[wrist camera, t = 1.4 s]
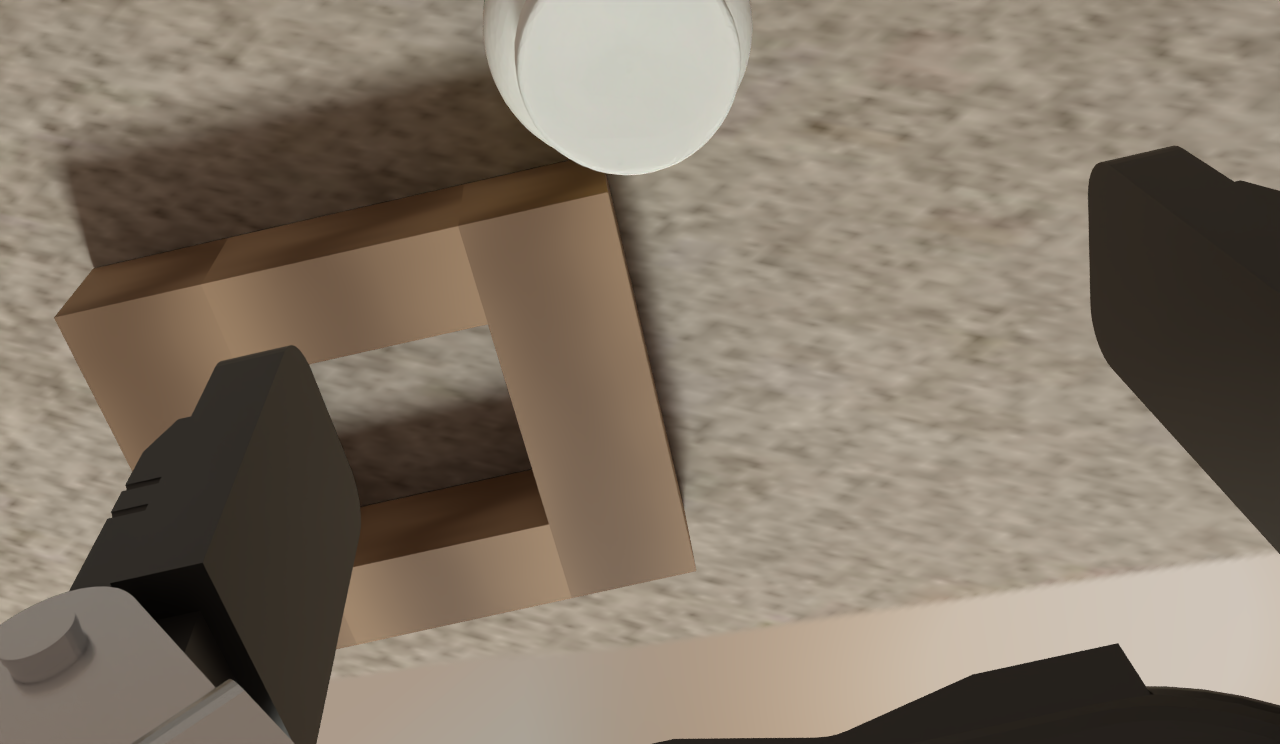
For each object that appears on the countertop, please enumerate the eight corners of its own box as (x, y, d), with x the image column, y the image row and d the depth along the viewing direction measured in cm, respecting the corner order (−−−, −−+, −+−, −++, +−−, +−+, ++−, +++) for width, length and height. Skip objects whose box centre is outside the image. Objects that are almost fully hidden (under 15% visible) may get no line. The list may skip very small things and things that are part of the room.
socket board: (601, 152, 31) (607, 192, 29) (684, 511, 37) (696, 571, 34) (93, 268, 32) (54, 317, 29) (255, 605, 37) (234, 671, 35)
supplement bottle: (680, 98, 31) (736, 238, 22) (475, 58, 30) (454, 188, 21) (732, -119, 28) (817, -53, 20) (510, -171, 27) (503, -124, 19)
